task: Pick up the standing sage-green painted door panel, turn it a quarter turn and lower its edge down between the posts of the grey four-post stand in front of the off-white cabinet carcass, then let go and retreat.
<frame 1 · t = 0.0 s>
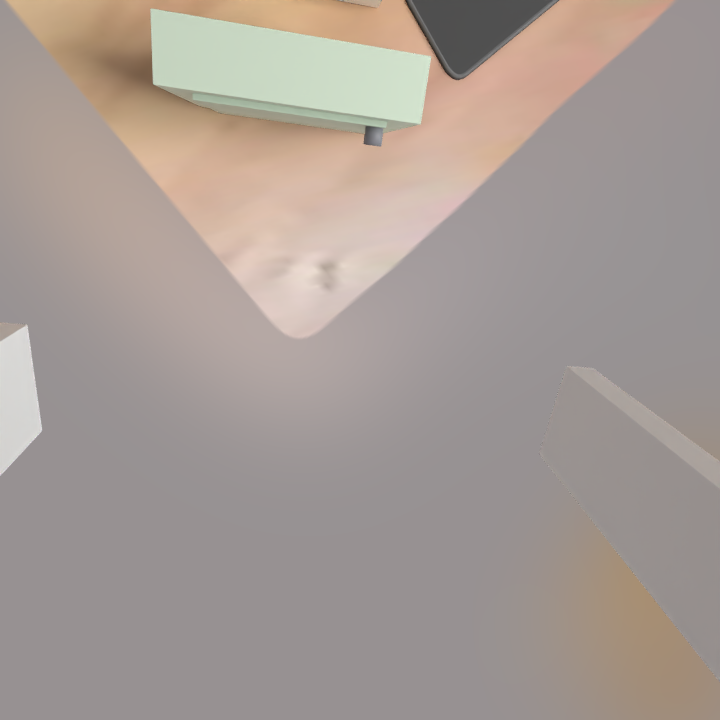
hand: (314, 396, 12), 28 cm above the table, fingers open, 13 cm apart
door panel: (296, 96, 34), on the table
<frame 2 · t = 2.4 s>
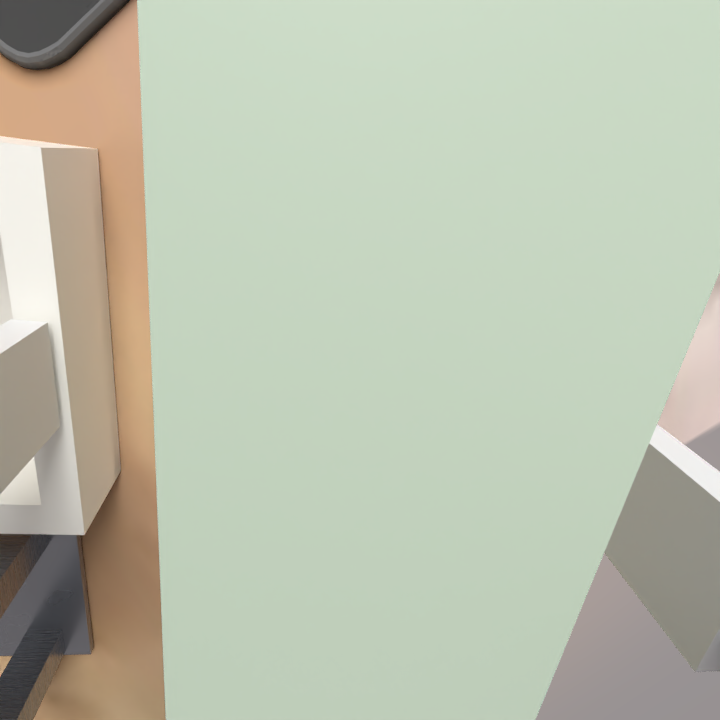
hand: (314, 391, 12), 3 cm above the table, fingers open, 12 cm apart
door panel: (312, 345, 15), on the table
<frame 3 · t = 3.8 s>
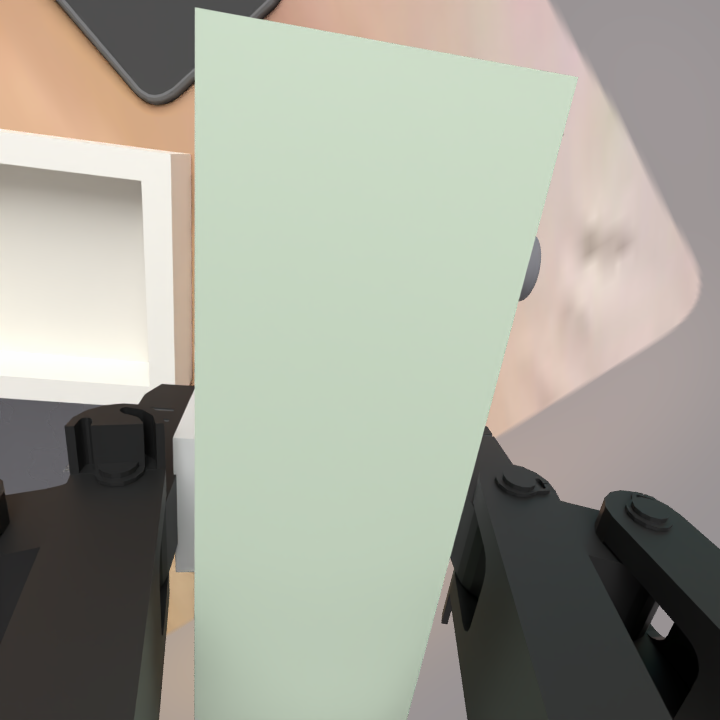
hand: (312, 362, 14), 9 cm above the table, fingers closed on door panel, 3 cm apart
grey four-post stand: (4, 456, 24), on the table
door panel: (306, 325, 17), point 5 cm above the table, touching gripper
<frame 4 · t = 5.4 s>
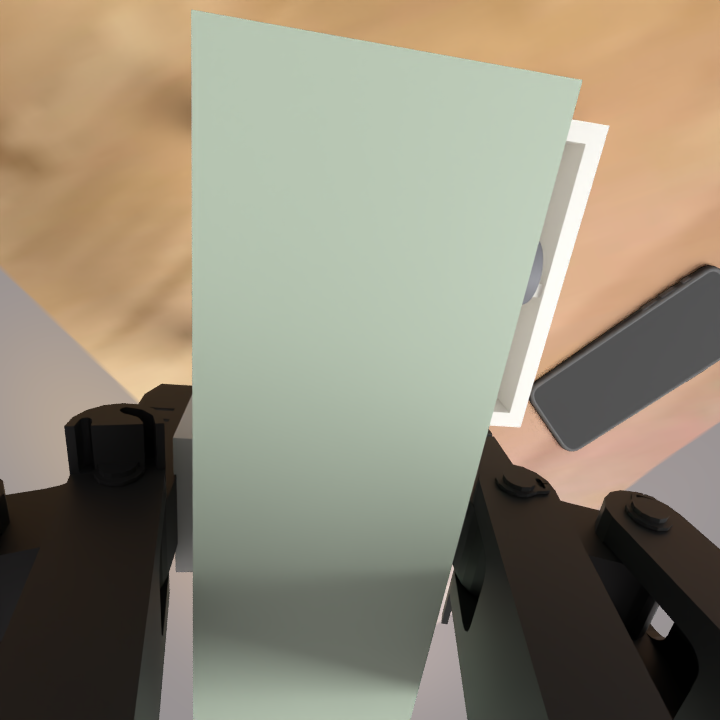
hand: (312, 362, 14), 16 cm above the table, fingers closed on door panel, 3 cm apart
smartphone: (629, 360, 35), on the table
door panel: (306, 326, 17), point 13 cm above the table, touching gripper
carcass: (462, 273, 30), on the table
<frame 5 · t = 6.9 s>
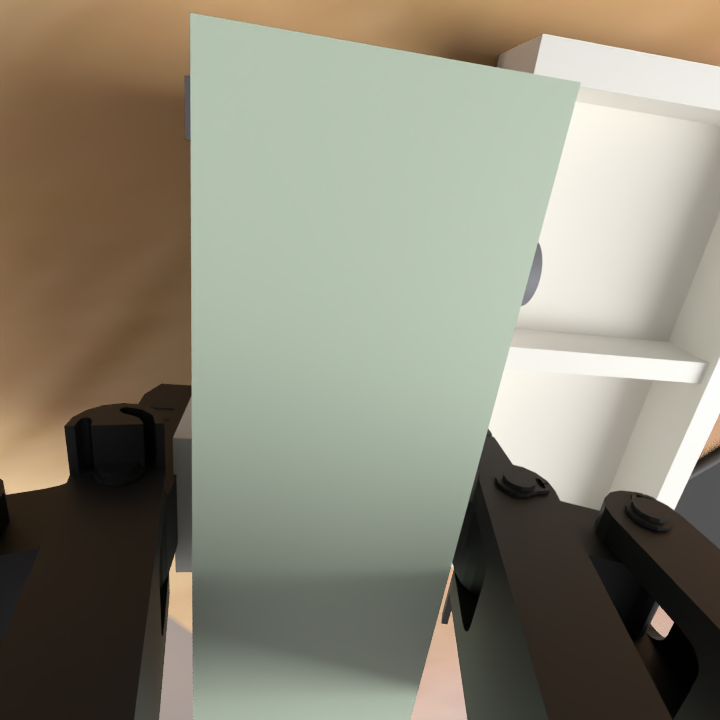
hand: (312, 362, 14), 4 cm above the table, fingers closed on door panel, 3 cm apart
grey four-post stand: (312, 315, 18), on the table
door panel: (305, 327, 17), point 1 cm above the table, touching gripper
carcass: (564, 337, 19), on the table
when the fingers open (3 cm above the table, at t = 7.3 s): door panel stays where it is, resting on grey four-post stand.
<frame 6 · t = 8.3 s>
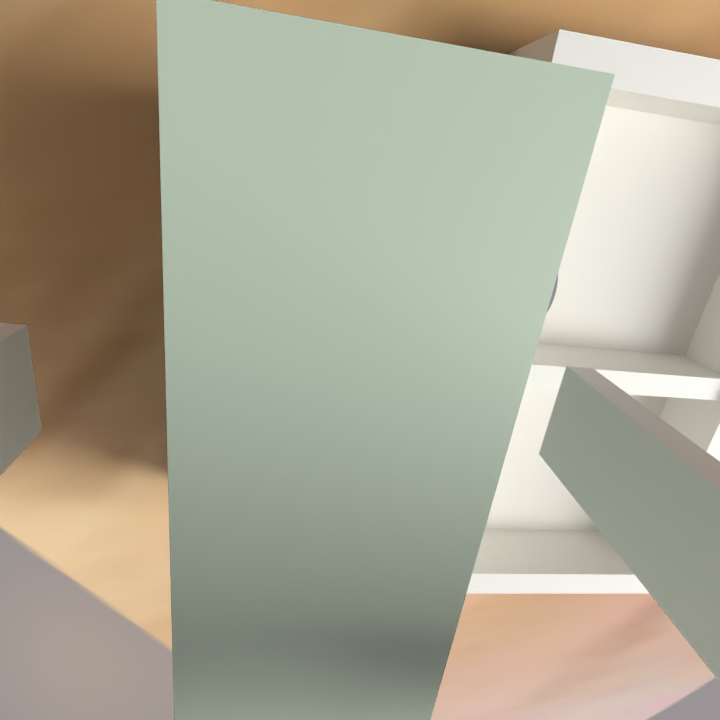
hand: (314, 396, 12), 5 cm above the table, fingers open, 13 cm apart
door panel: (303, 336, 17), resting on grey four-post stand
carcass: (576, 351, 18), on the table
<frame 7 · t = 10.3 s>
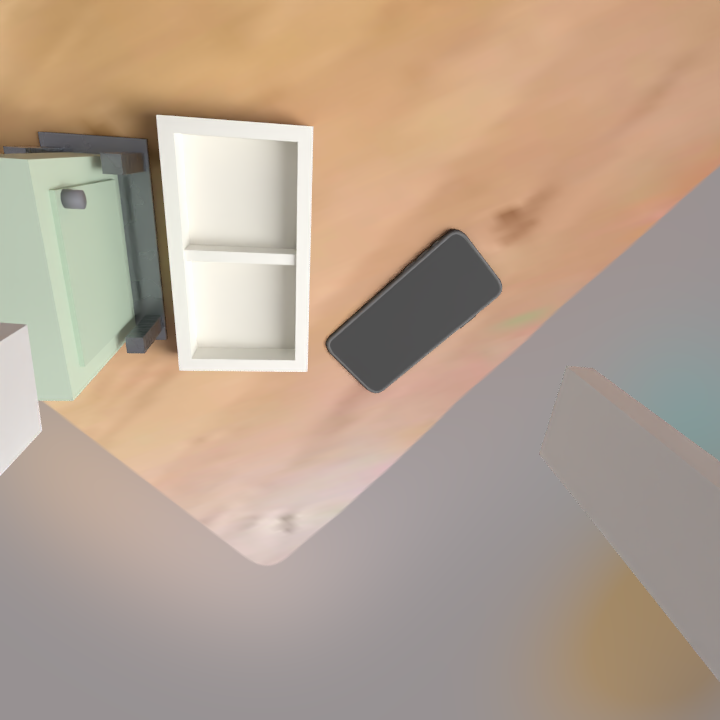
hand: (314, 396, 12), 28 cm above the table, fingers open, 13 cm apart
smartphone: (411, 313, 42), on the table
grey four-post stand: (109, 244, 37), on the table
door panel: (105, 247, 36), resting on grey four-post stand
carcass: (245, 250, 38), on the table
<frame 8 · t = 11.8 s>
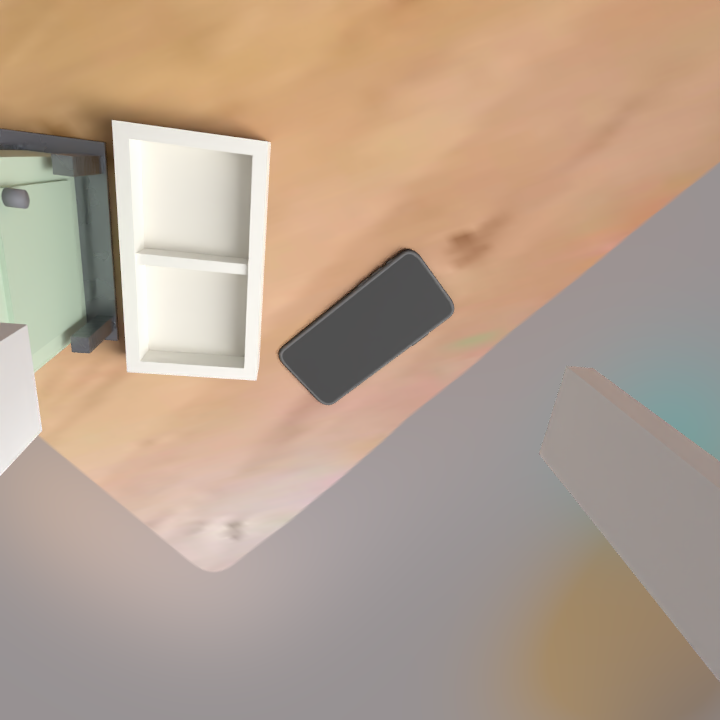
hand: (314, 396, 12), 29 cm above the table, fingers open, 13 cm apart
smartphone: (365, 329, 43), on the table
grey four-post stand: (63, 243, 37), on the table
door panel: (59, 246, 37), resting on grey four-post stand
carcass: (200, 257, 38), on the table
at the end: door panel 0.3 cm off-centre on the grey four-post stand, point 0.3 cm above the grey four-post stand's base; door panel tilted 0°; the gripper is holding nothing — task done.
